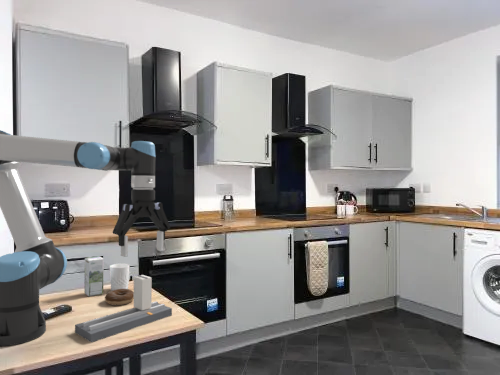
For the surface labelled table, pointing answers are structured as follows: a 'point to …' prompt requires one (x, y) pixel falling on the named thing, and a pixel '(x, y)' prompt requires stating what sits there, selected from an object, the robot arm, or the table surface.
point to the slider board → (121, 322)
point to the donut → (119, 297)
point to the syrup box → (94, 275)
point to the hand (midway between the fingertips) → (142, 253)
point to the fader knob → (142, 292)
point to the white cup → (119, 276)
